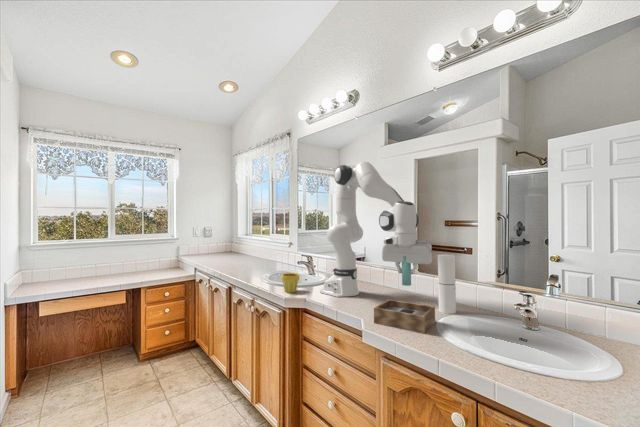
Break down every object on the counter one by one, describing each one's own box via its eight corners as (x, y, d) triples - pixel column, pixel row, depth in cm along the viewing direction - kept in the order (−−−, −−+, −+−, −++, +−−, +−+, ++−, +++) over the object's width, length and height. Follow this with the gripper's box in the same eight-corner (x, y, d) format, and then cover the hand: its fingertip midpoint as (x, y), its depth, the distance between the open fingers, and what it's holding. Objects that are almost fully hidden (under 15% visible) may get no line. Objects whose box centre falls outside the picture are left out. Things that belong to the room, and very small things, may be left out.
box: (373, 322, 122) (373, 307, 122) (388, 312, 134) (388, 299, 134) (424, 333, 110) (423, 316, 110) (435, 321, 122) (434, 306, 122)
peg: (403, 283, 127) (403, 254, 127) (412, 284, 125) (411, 255, 125) (400, 285, 124) (400, 255, 124) (409, 286, 122) (408, 256, 122)
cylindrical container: (435, 310, 137) (434, 255, 137) (447, 308, 140) (446, 254, 140) (447, 314, 131) (446, 256, 131) (459, 312, 133) (458, 255, 134)
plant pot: (303, 291, 175) (302, 274, 175) (288, 294, 168) (288, 277, 168) (292, 288, 183) (292, 272, 183) (278, 291, 176) (278, 274, 176)
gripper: (433, 240, 121) (434, 274, 121) (385, 239, 133) (386, 270, 133) (429, 241, 116) (430, 277, 116) (380, 239, 128) (380, 272, 128)
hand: (406, 273), depth 125 cm, fingers closed on peg, 4 cm apart
